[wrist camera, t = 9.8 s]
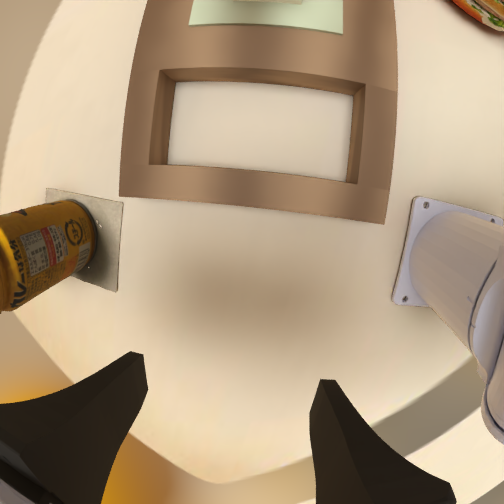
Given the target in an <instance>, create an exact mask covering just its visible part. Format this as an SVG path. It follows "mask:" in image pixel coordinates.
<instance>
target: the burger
mask: <svg viewBox="0 0 504 504" xmlns="http://www.w3.org/2000/svg"><path fill="white" fill-rule="evenodd" d="M452 1H453V2H454V3H455V4H456V5H458V6H459V7H460V8H461V9H463V10H464V11H465V12H466V13H467V14H469V15H470V16H472V17H474V18H475V19H477V20H478V21H480V22H481V23H482V24H485V25H487V26H490V27H492V28H493V29H495V30H498V31H504V0H452Z"/></svg>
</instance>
